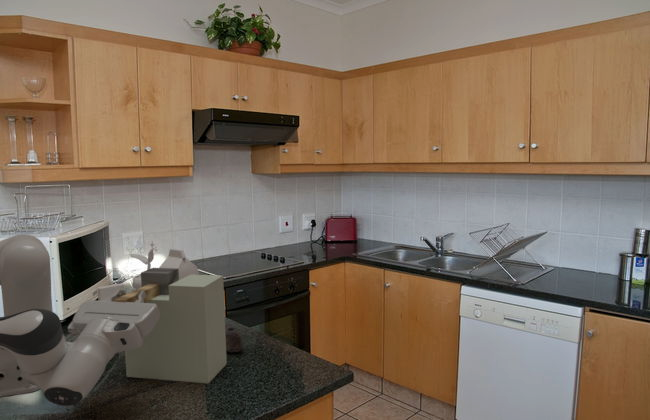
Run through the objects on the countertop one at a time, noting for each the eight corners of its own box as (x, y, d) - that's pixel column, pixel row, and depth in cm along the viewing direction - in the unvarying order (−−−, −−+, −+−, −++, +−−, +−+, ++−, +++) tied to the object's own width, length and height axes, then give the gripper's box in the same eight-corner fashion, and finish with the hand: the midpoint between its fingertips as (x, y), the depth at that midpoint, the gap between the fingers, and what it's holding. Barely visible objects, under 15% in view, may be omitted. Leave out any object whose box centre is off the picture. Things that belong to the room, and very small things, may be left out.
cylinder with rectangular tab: (103, 322, 172) (101, 290, 170) (96, 316, 179) (94, 285, 177) (128, 317, 177) (126, 286, 176) (121, 311, 184) (119, 281, 183)
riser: (208, 383, 123) (204, 287, 120) (126, 376, 128) (120, 283, 125) (226, 364, 134) (223, 275, 132) (151, 358, 139) (146, 273, 136)
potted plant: (167, 295, 206) (164, 239, 203) (155, 303, 194) (151, 243, 192) (140, 294, 207) (136, 239, 205) (126, 302, 196) (122, 243, 193)
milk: (156, 319, 174) (153, 250, 171) (181, 311, 183) (178, 245, 181) (178, 325, 167) (174, 254, 165) (202, 316, 177) (199, 248, 174)
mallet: (135, 312, 113) (133, 288, 112) (106, 311, 115) (104, 287, 114) (179, 289, 133) (178, 268, 133) (154, 288, 135) (153, 267, 134)
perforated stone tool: (218, 340, 153) (218, 319, 152) (235, 337, 155) (234, 317, 154) (225, 357, 139) (225, 335, 138) (243, 355, 141) (242, 332, 140)
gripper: (69, 342, 111) (101, 299, 122) (147, 347, 107) (172, 302, 118) (57, 324, 108) (91, 281, 119) (137, 329, 104) (164, 284, 115)
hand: (132, 292), depth 118 cm, fingers open, 4 cm apart
